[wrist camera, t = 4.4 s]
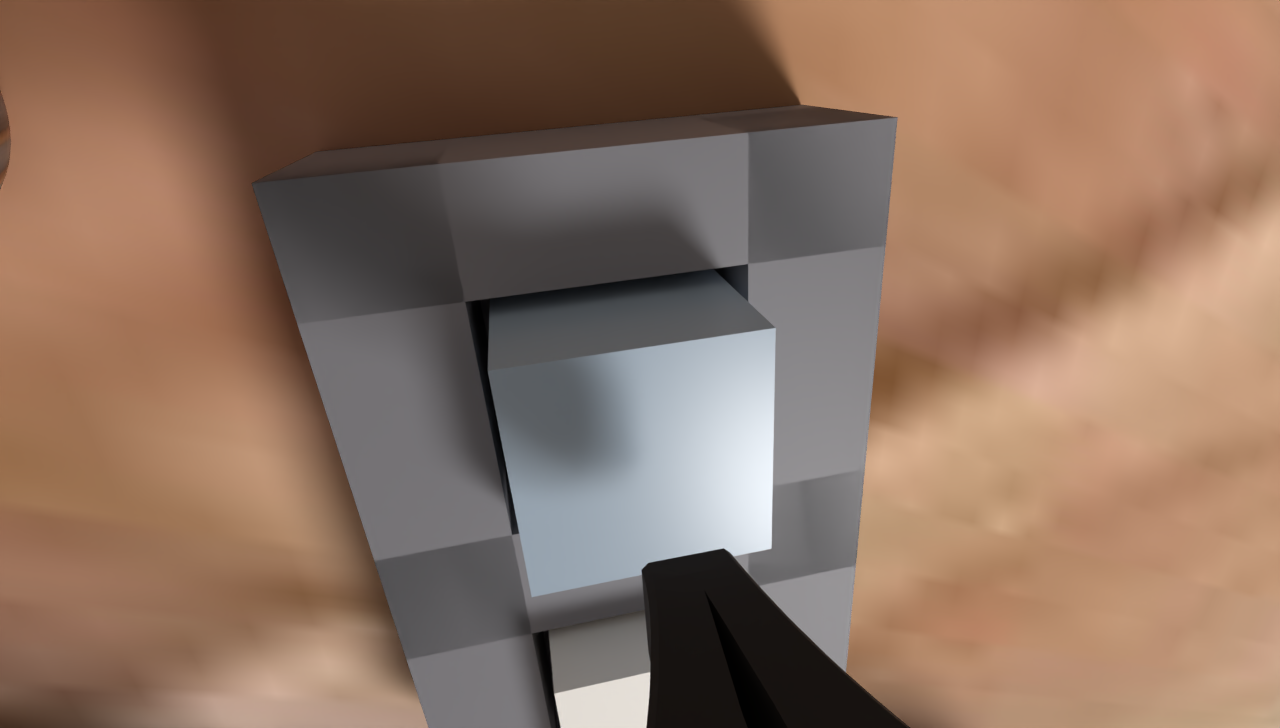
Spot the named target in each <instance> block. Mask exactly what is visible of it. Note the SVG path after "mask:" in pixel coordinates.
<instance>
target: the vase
mask: <svg viewBox="0 0 1280 728" xmlns="http://www.w3.org/2000/svg"><path fill="white" fill-rule="evenodd" d="M10 145H11V139H10V127H9V120H8V115H7V111H6V106H5V103H4V100H3V97H2V94H1V91H0V189H1V186H2V184H3V181H4V178H5V176H6V173H7V169H8V165H9V158H10Z"/></svg>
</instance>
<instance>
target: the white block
mask: <svg viewBox="0 0 1280 728" xmlns="http://www.w3.org/2000/svg"><path fill="white" fill-rule="evenodd" d="M549 641H550V652H551V663H552V674H553V685H554V695H555V700H556V705H557V711H558V716H559V721H560V726H561V728H646V726H647V715H648V704H649V691H650V658H649V653H648V641H647V630H646V618H645V610H641V611H637V612H632V613H627V614H622V615H618V616H613V617H608V618H603V619H599V620H594V621H589V622H584V623H580V624H575V625H570V626H565V627H561V628H556V629H551V630H549Z"/></svg>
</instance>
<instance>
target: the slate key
mask: <svg viewBox="0 0 1280 728" xmlns="http://www.w3.org/2000/svg"><path fill="white" fill-rule="evenodd" d="M775 341H776V328H775V327H774V326H773V325H772V324H771V323H770V322H769V321H768V320H767V319H766V318H765V317H764V316H763V315H762V314H760V313H759V312H758V311H757V310H756V309H755V308H754V307H753V306H752V305H751V304H750V303H749V302H748V301H747V300H746V299H745V298H744V297H742V296H741V295H740V294H739V293H738V292H737V291H736V290H735V289H734V288H733V287H732V286H731V285H730V284H729V283H728V282H727V281H726V280H724V279H723V278H722V277H721V276H720V275H719V274H718V273H717V272H716V271H715V270H714V269H707V270H700V271H692V272H685V273H677V274H670V275H662V276H655V277H647V278H640V279H632V280H625V281H617V282H610V283H602V284H595V285H587V286H580V287H572V288H565V289H557V290H550V291H542V292H535V293H527V294H520V295H512V296H505V297H497V298H490V311H489V344H488V375H489V380H490V385H491V390H492V396H493V401H494V406H495V411H496V416H497V421H498V426H499V431H500V437H501V442H502V447H503V452H504V457H505V462H506V467H507V473H508V478H509V483H510V488H511V493H512V498H513V503H514V509H515V514H516V519H517V524H518V529H519V534H520V539H521V544H522V550H523V555H524V560H525V565H526V570H527V575H528V580H529V586H530V591H531V596H532V597H535V596H540V595H545V594H550V593H555V592H560V591H565V590H570V589H574V588H579V587H584V586H589V585H594V584H599V583H604V582H609V581H614V580H619V579H624V578H629V577H634V576H639V575H642V572H641V570H642V569H643V568H644V567H645V566H646V565H647V564H648V563H650V562H655V561H660V560H666V559H671V558H676V557H681V556H686V555H691V554H697V553H702V552H707V551H712V550H717V549H723V548H724V549H725V550H727V551H728V552H730V553H731V554H732V555H733V556H738V555H743V554H748V553H753V552H758V551H763V550H768V549H771V548H772V496H773V444H774V393H775Z"/></svg>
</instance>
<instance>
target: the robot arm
mask: <svg viewBox="0 0 1280 728" xmlns="http://www.w3.org/2000/svg"><path fill="white" fill-rule="evenodd" d="M641 572H642V583H643V595H644V607H645V618H646V630H647V641H648V653H649V658H650V691H649V704H648V715H647V726H646V728H910V727H909V726H907V725H906V724H905V723H904V722H903V721H901V720H900V719H899V718H898V717H896V716H895V715H894V714H893V713H892V712H891V711H889V710H888V709H887V708H886V707H885V706H883V705H882V704H881V703H880V702H879V701H877V700H876V699H875V698H874V697H873V696H872V695H871V694H870V693H868V692H867V691H866V690H865V689H864V688H863V687H862V686H860V685H859V684H858V683H857V682H856V681H855V680H854V679H852V678H851V677H850V676H849V675H848V674H847V673H846V672H845V671H844V670H843V669H841V668H840V667H839V666H838V665H837V664H836V663H835V662H834V661H833V660H832V659H831V658H830V657H828V656H827V655H826V654H825V653H824V652H823V651H822V650H821V649H820V648H819V647H818V646H817V645H816V644H815V643H814V642H813V641H812V640H811V639H810V638H809V637H808V636H807V635H806V634H805V633H804V632H803V631H802V630H801V629H800V628H799V627H798V626H797V625H796V624H795V623H794V622H793V621H792V620H791V619H790V618H789V617H788V616H787V615H786V614H785V613H784V612H783V611H782V610H781V609H780V608H779V607H778V606H777V605H776V604H775V603H774V601H773V600H772V599H771V598H770V597H769V596H768V595H767V594H766V593H765V592H764V591H763V590H762V589H761V587H760V586H759V585H758V584H757V583H756V582H755V581H754V580H753V579H752V577H751V576H750V575H749V574H748V573H747V572H746V571H745V570H744V568H743V567H742V566H741V565H740V564H739V563H738V561H737V560H736V559H735V558H734V557H733V555H732V554H731V553H730V552H728V551H727V550H725V549H724V548H723V549H717V550H712V551H707V552H702V553H697V554H691V555H686V556H681V557H676V558H671V559H666V560H660V561H655V562H650V563H648V564H647V565H646V566H645V567H644V568H643V569H642V570H641Z"/></svg>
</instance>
